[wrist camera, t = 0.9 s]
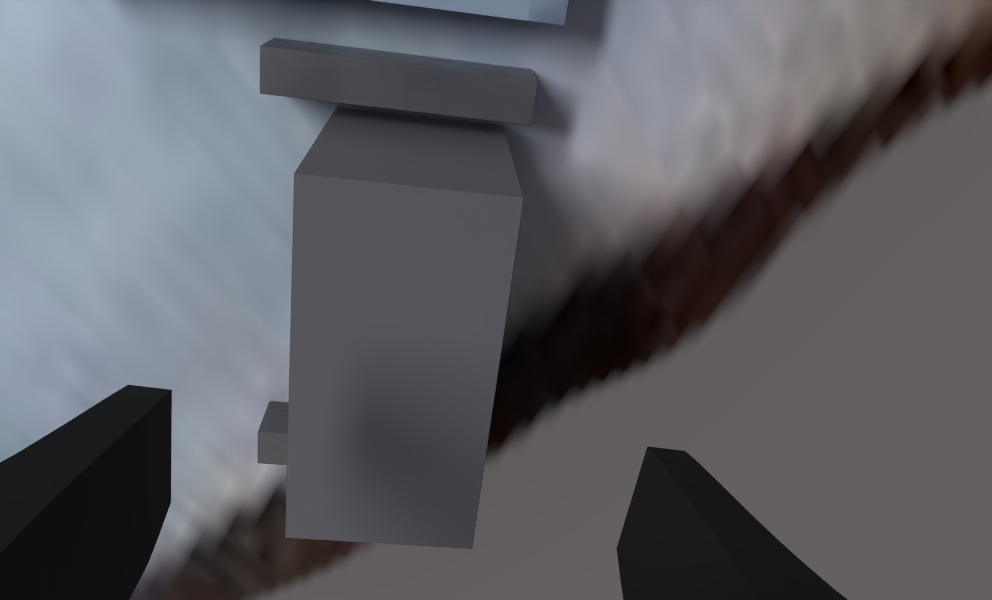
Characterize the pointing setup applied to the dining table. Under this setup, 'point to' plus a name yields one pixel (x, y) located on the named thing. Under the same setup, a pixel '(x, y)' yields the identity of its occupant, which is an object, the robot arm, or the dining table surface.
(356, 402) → the grey bar
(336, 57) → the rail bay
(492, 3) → the tray
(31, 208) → the dining table surface
